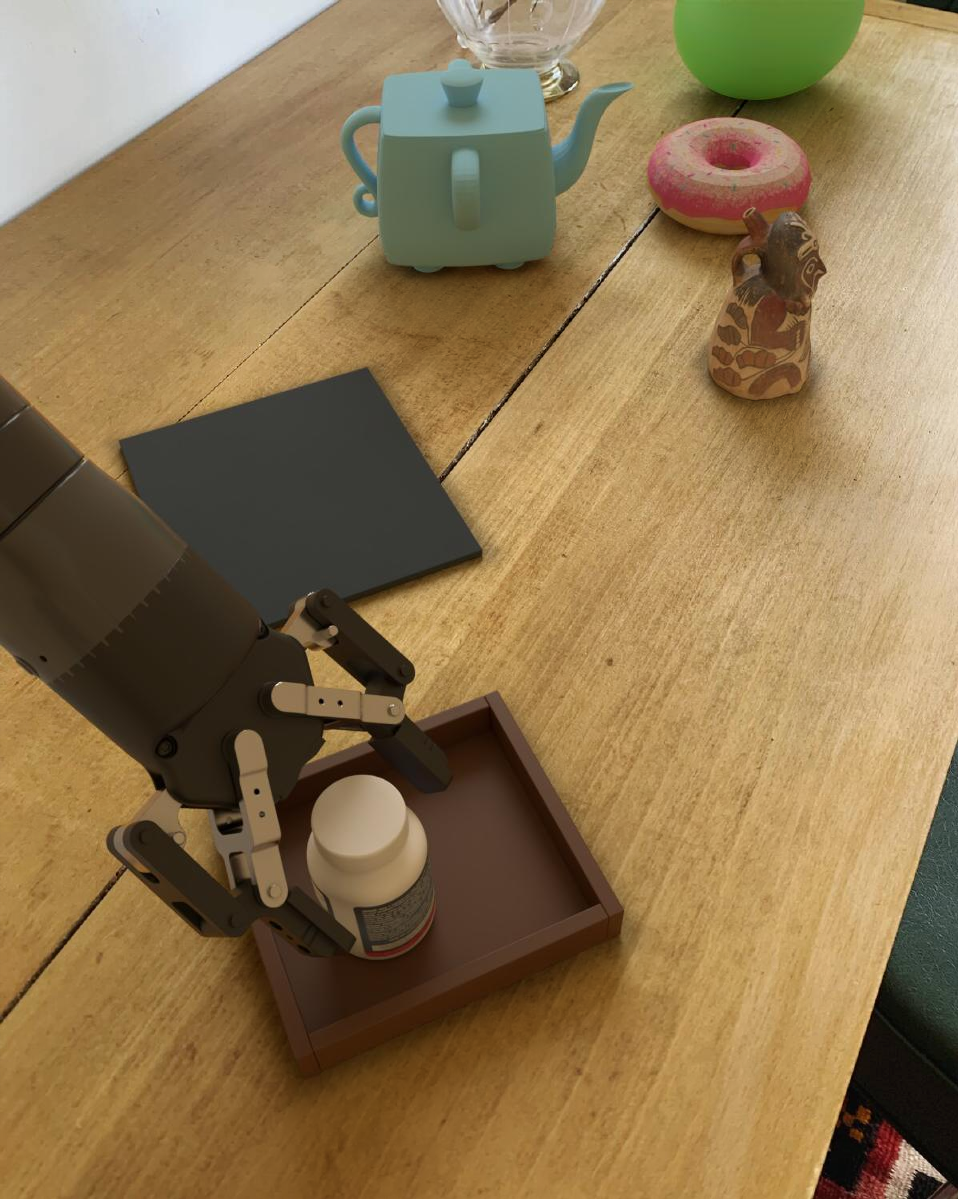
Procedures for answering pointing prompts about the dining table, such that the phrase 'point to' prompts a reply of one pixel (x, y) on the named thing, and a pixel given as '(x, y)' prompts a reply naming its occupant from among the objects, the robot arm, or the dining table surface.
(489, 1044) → the dining table surface
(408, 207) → the teapot
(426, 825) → the tray
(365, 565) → the mat
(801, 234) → the figurine
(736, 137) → the donut
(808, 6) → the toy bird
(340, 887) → the pill bottle
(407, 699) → the dining table surface
